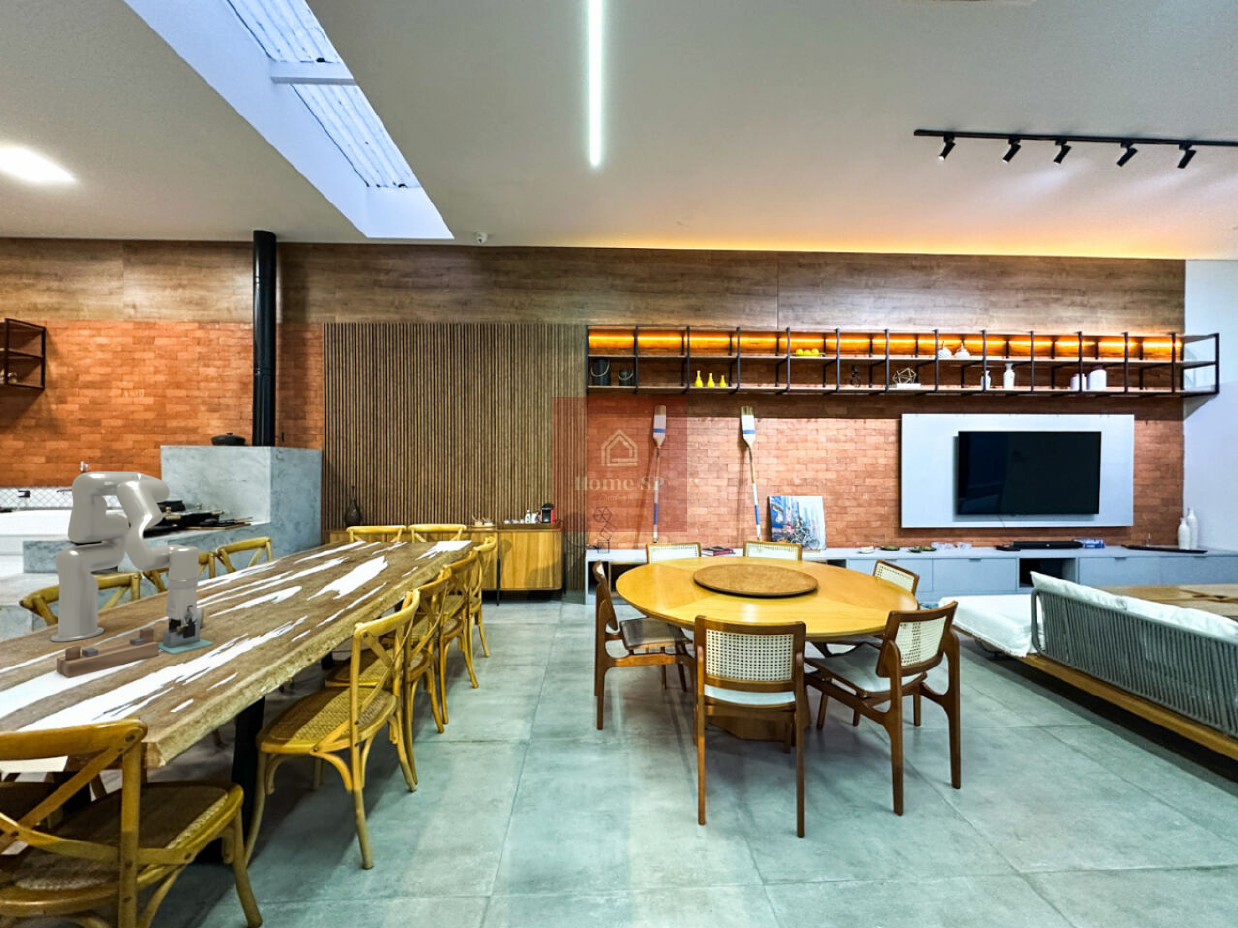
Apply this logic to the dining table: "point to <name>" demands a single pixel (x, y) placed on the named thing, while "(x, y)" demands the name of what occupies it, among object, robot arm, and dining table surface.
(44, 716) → the dining table surface
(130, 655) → the plane body
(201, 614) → the ceramic mug
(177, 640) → the lever cap
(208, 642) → the mat
